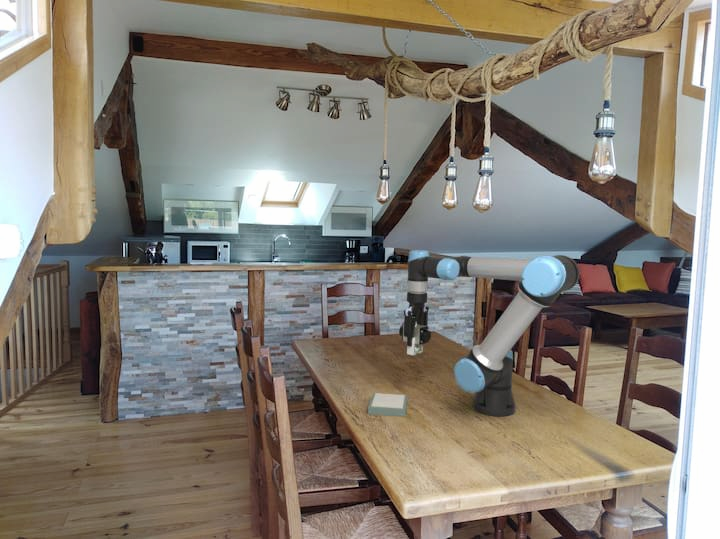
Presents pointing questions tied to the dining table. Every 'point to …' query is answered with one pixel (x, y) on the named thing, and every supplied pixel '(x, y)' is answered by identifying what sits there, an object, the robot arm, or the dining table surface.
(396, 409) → the stand
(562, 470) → the dining table surface
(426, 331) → the pneumatic valve
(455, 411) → the dining table surface
